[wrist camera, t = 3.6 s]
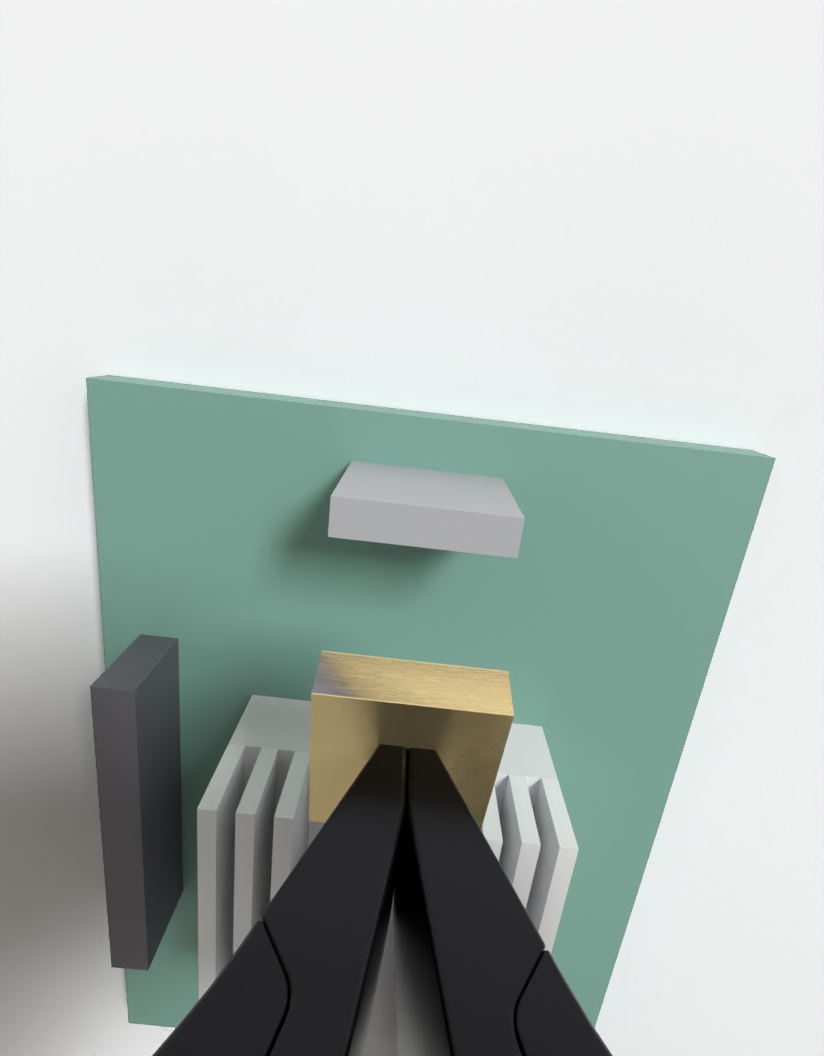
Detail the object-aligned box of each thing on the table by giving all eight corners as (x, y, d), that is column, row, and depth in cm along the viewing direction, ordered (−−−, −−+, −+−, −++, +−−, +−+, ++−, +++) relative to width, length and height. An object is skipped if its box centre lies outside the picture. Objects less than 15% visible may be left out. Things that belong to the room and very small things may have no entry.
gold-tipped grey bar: (407, 1060, 18) (405, 1124, 17) (305, 1050, 18) (295, 1113, 17) (519, 659, 9) (531, 734, 8) (312, 636, 9) (292, 708, 8)
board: (574, 1036, 21) (617, 1236, 16) (142, 991, 21) (59, 1182, 16) (752, 450, 14) (914, 506, 10) (108, 374, 14) (-53, 394, 9)
